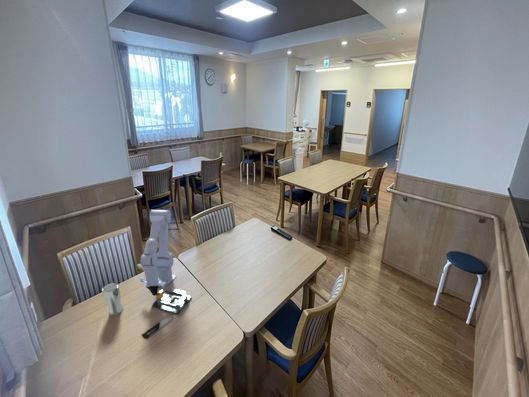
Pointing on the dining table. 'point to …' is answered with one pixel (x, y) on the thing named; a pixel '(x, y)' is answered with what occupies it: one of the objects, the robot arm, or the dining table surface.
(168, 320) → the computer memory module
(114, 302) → the beer glass
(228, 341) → the dining table surface
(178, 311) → the heatsink plate
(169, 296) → the grey orange block
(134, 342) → the dining table surface
